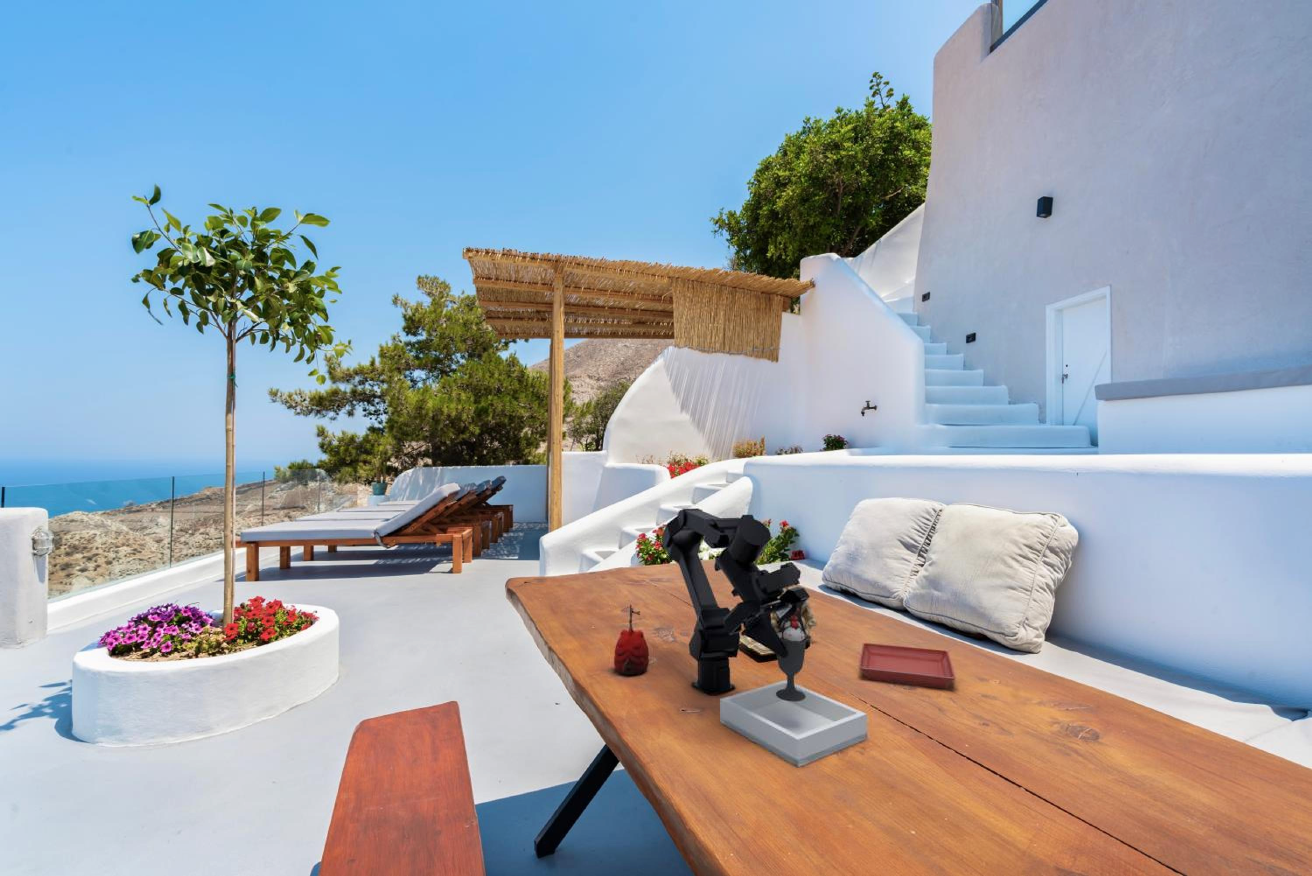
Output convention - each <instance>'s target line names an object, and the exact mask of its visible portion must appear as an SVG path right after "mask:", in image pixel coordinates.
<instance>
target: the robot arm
mask: <svg viewBox="0 0 1312 876" xmlns="http://www.w3.org/2000/svg"><path fill="white" fill-rule="evenodd" d="M661 535H662V536H661V543H662V546H663V547H662V548H664V549H665V551H666V554H667V556H668V557H669V559H671V560H673V561H674V562H675V563H676V564H678V565H679V569H680V572H681V574H682V577H683V580H684V583H685V586H686V589H687V592H688V594H689V598H690V600H691V603H692V606H693V609H694V612H695V615H696V621H695V624H694V625H695V626H694V628H693V635H692V636H691V639H690V641H689V643H688V651H689V655H690V657H691V658H692V659H694V660H695V661H696V662H697V681H694V682H691V687H693V688H695V689H697V690H700V691H701V692H702V693H705V694H707V695H709V696H713V695H717V694H721V693H725V692H728V691H732V690H735V689H736V685H734V684H733V683H731V667H730V659H731V658H737V657H738V652H739V647H740V641H741V636H742V637H744V636H745V637H747V638H750V639H751V640H753V641H755V642H756V643H758V644H760V645H762V646H763V647H764V648H767V649H768V650H770V651H772V652H773V654H774V653H775V654H776V656H777V655H779V656H781V657H782V658H786V657H787V656H788V652H787V650H786V648H785V646H784V644H783V643H782V641H781V639H780V638H779V636H778V634H777V633H776V631H775V629H774V628H773V626H772V624H771V617H772V613H774V612H775V614H776V615H777V616H779V618H780V619H784V620H785V619H787V618H791V616H793V615H794V613H796V612H797V613H796V615H795V616H796V617H797V621H798V622H799V623H800V625H801V629H802V631H803V632H804V633H805V634H806V631H805V628H804V625H803V621H802V617H801V610H802V606H803V605H804V603H805V602H806V601H808V600H809V599H810V598H811V596H810V594H809V593H808V592H807V590H806V589H805V588H804V587H801V586H800V587H799V586H797V585H800V584H801V583H800V580H799V579H801V574H802V571H801V570H800V569H799V568H798V566H797V565H795V564H794V563H793V562H792V561H790V562H789V561H788V562H785V564H781V565H780V566H779V569H775V570H773V571H771V572H769V571H768V570H767V569H762V570H760V568H759V567H758V566H757V564H756V563H755V562H756V561H757V560H758V559H759V558H760V556H761V555H762V553H763V551H764V550H765V548H766V546H767V545H768V543H769V542H770V541H771V531H770V529H769V528H768V527H767V526H766V524H764V523H763V522H761V521H760V520H758V519H755V518H754V515H753V514H742V515H741V517H718V516H716V515H713V514H711V513H708V512H705V511H703V509H700V508H682V509H679V510H678V513H677V515H676V516H675V517H674V518H672V519H671V520H670V521H668V522H667V523H666V524H665V527H664V529H663V531H662V534H661ZM703 539H704V543H705V544H706V545H707V546H708V547H709V548H710V549H713V550H714V549H723V550H722V551H721V552H720V554H718V555H717V556H716V555H715V557H714V560H715V562H714V565H713V566H714V567H713V568H714V571H715V572H719V571H722V572H723V574H724V576H725V577H726V578H727V580H728V581H729V583H730V585H731V586H732V588H733V589H732V590H731V591H730V594H732V596H733V597H734V598H735V597H740V599H741V600H742V602H738V603H736V605H735V606H734V607H733V608H732V609H729V607H720V606H719V604H718V602H717V599H716V598H715V594H714V591H713V589H712V587H711V584H710V581H709V579H708V576H707V574H706V573H707V572H705V568H704V566H703V565H704V564H703V562H702V560H701V558H700V556H699V551H700V548H701V544H702V541H703ZM791 585H794V586H795V588H792V589H788V590H787V591H786V592H785V593H784V594H783V595H782V596H781V597H780V598H779V599H778V596H779V595H781V594H782V593H783V592H784V590H783V588H786V587H789V586H791ZM796 586H797V587H796ZM797 608H798V609H799V610H800V611H799V612H798V611H796V610H797ZM795 611H796V612H795ZM780 619H779V620H778V621H777V622H776V623H777V624H778V625H779V621H780ZM742 626H743V628H744V629H743V630H742ZM810 647H811V644H810V640H808V642H807V644H806V647H805V650H808V649H809V648H810Z"/></svg>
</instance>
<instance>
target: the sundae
mask: <svg viewBox="0 0 1312 876" xmlns="http://www.w3.org/2000/svg"><path fill="white" fill-rule="evenodd" d="M796 611H798V612H799V611H800V610H799V609H798V608H797V610H796ZM796 611H795V612H796ZM796 613H797V612H796ZM796 613H794V615H793V616H791V618H787V619H785V620H784V619H780V621H779V627H778V630H777V631H776V633H777V634H778V636H779V638H780V639H781V641H782V643H783V644H784V646H785V648H786V650H787V652H788V656H787V657H786V658H782V657H781V656H779V655H777V654H776V659H777V664H778V668H779V669H780V670H781V671H782V673H784V674H785V676H786V680H787V686H786V688H785V689H781V690H778V691H777V692H776V696H777V697H778V698H780V699H782V700H785V701H792V702H796V701H802V700H804V699H805V698H806V696H805V694H804V693H803V692H801V691H798V690H796V688H795V686H794V684H795V676H796V675H798V673H799V672H801V670H802V669H803V666H804V661H805V654H806V649H805V647H806V644H807V642H808V640H809V641H810V640H811V639H812V636H811V635H810V634H809V635H810V636H809V635H807V634H805V633H804V632H803V631H802V629H801V625H800V623H799V622H798V621H797V617H796V616H795V615H796Z"/></svg>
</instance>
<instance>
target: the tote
mask: <svg viewBox="0 0 1312 876" xmlns="http://www.w3.org/2000/svg"><path fill="white" fill-rule="evenodd" d="M786 686H787V679H785V680H781V681H778V682H775V683H772V684H768V685H765V686H761V687H757V688H754V689H749V690H747V691H743V692H740V693H737V694H732V695H729V696H726V697H723V698H719V710H720V711H719V713H720V714H719V717H720V718H719V720H720V721H719V722H720V724H722V725H724V726H725V727H727V728H729V729H731V730H732V731H734V732H736V733H737V734H740V735H741V736H743V737H745V738H746V739H748V740H750V741H751V742H754V743H755V744H757V745H759V746H760V747H762V748H764V749H766V750H768V751H769V752H771V753H772V754H774V755H777V756H778V757H780V758H781V759H783V760H785V761H786V762H788V763H790V764H792V765H794V766H796V767H797V768H800V767H802V766H806V765H807V764H809V763H813V762H814V761H818V760H820V759H822V758H824V757H827V756H829V755H832V754H834V753H837V752H839V751H842V750H844V749H846V748H849V747H852V746H854V745H856V744H859V743H861V742H864V741H866V740H867V739H868V714H867V713H865V712H863V711H860V710H858V709H856V708H853V707H851V706H849V705H847V704H844V703H841V702H839V701H837V700H834V699H832V698H829V697H828V696H825V695H823V694H820V693H819V692H818V693H817V692H815V691H813V690H810V689H808V688H806V687H803V686H801V685H798V684H797V683H794V686H795V688H796V690H798V691H801V692H803V693H804V694H805V696H806V698H805V699H804V700H802V701H796V702H792V701H785V700H782V699H780V698H778V697H777V696H776V692H777V691H778V690H781V689H785V688H786Z"/></svg>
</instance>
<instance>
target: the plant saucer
mask: <svg viewBox="0 0 1312 876" xmlns="http://www.w3.org/2000/svg"><path fill="white" fill-rule="evenodd" d="M858 668H859V670H860V672H862V674H863V675H864V676H865V677H866V678H867V679H869V680H874V681H879V682H880V681H882V682H889V683H890V682H892V683H897V684H907V685H913V686H920V687H921V686H922V687H931V688H938V689H945V688H947V687H948V686H950V684H951V683H953V681H954V680H955V679H956V674H955V670H954V667H953V664H952V660H951V656H950V654H949V651H948V650H943V649H935V648H933V649H932V648H923V647H912V646H902V645H892V644H891V645H890V644H881V643H880V644H879V643H870V642H863V643H862V647H861V652H860V658H859V663H858Z"/></svg>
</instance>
